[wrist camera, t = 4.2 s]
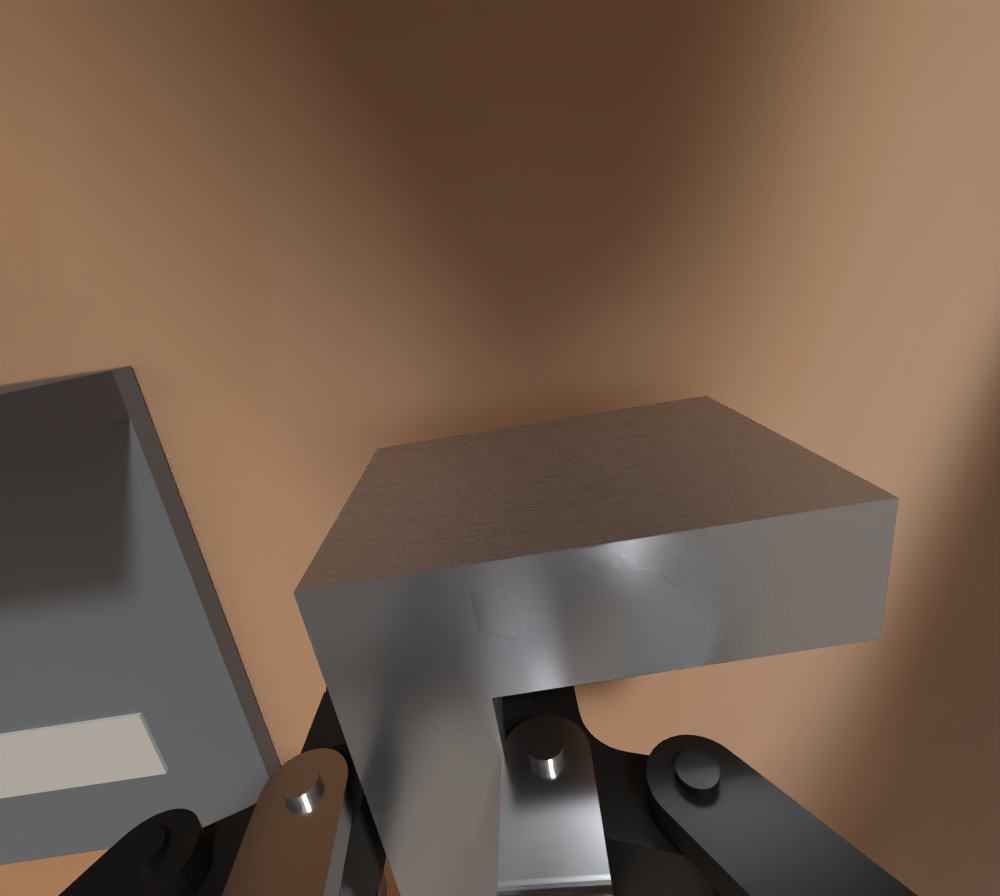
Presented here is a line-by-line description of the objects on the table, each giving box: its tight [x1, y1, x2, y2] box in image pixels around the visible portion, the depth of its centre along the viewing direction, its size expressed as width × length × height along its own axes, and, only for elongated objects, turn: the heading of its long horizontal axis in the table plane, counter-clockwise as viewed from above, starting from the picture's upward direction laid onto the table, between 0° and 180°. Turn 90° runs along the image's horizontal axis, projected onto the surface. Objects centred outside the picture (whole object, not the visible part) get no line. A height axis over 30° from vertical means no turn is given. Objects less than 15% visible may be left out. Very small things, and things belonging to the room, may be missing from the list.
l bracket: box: [294, 396, 899, 896], centre depth 9 cm, size 9×7×5 cm
